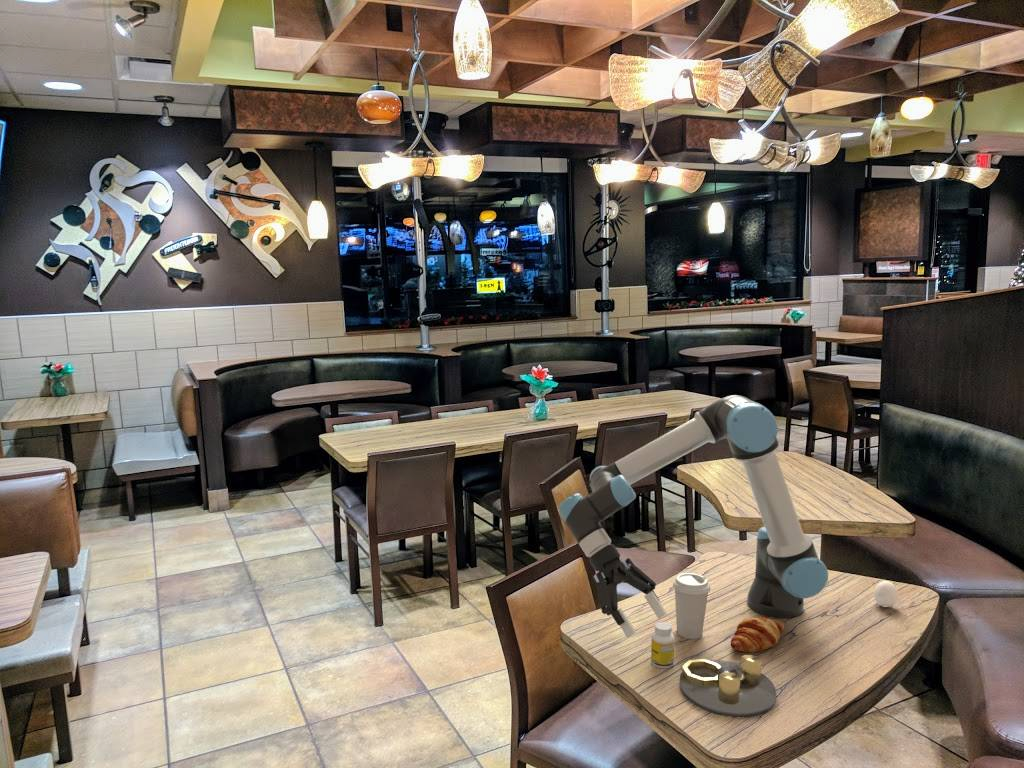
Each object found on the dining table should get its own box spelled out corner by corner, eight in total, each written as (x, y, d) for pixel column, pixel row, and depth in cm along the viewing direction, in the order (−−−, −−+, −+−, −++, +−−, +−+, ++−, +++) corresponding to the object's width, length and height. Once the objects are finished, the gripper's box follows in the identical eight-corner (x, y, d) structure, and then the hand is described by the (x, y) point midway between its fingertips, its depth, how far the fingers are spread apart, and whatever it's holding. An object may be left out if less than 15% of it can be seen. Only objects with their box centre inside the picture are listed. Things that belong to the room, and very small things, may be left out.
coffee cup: (709, 643, 191) (711, 588, 188) (671, 639, 193) (673, 585, 190) (707, 626, 200) (709, 573, 198) (670, 623, 202) (672, 570, 200)
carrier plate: (750, 663, 181) (752, 638, 180) (793, 714, 161) (795, 686, 160) (667, 668, 179) (668, 643, 178) (699, 720, 158) (700, 692, 157)
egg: (868, 603, 214) (870, 578, 213) (886, 601, 216) (888, 576, 215) (883, 612, 209) (885, 586, 207) (901, 610, 210) (904, 584, 209)
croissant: (771, 638, 201) (760, 609, 203) (802, 634, 193) (791, 604, 195) (723, 662, 188) (712, 630, 190) (755, 659, 180) (743, 625, 182)
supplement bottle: (648, 658, 184) (649, 620, 182) (669, 657, 184) (671, 619, 183) (654, 669, 178) (655, 631, 177) (676, 668, 179) (677, 630, 177)
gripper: (619, 545, 201) (665, 615, 193) (560, 571, 183) (608, 650, 175) (637, 531, 196) (684, 602, 189) (577, 556, 179) (627, 637, 171)
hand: (648, 625), depth 182 cm, fingers open, 13 cm apart
